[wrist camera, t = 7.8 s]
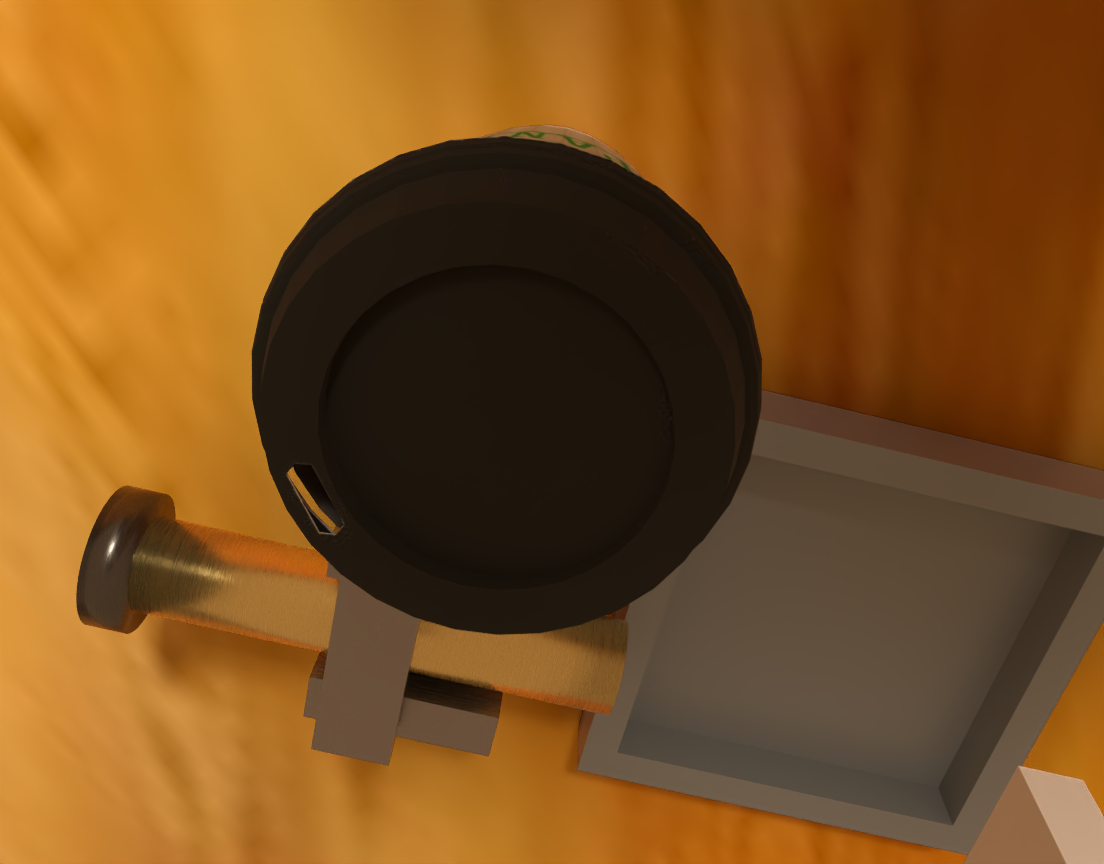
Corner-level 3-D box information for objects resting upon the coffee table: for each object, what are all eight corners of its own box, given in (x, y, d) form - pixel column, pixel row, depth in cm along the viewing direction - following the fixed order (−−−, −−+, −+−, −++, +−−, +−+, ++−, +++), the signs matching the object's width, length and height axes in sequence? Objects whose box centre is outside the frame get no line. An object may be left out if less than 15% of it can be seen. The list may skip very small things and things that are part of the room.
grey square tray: (688, 372, 34) (693, 403, 32) (1127, 476, 34) (1163, 513, 32) (579, 723, 40) (576, 770, 38) (951, 805, 41) (971, 855, 39)
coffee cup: (749, 318, 33) (842, 581, 19) (464, 416, 35) (368, 717, 21) (645, 4, 29) (669, 59, 16) (333, 133, 31) (115, 282, 18)
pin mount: (376, 441, 35) (322, 555, 29) (548, 480, 36) (533, 602, 29) (347, 606, 38) (292, 744, 32) (506, 642, 39) (483, 786, 32)
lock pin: (142, 461, 33) (79, 531, 29) (633, 572, 34) (635, 655, 30) (135, 573, 35) (74, 654, 31) (600, 677, 36) (598, 768, 32)
